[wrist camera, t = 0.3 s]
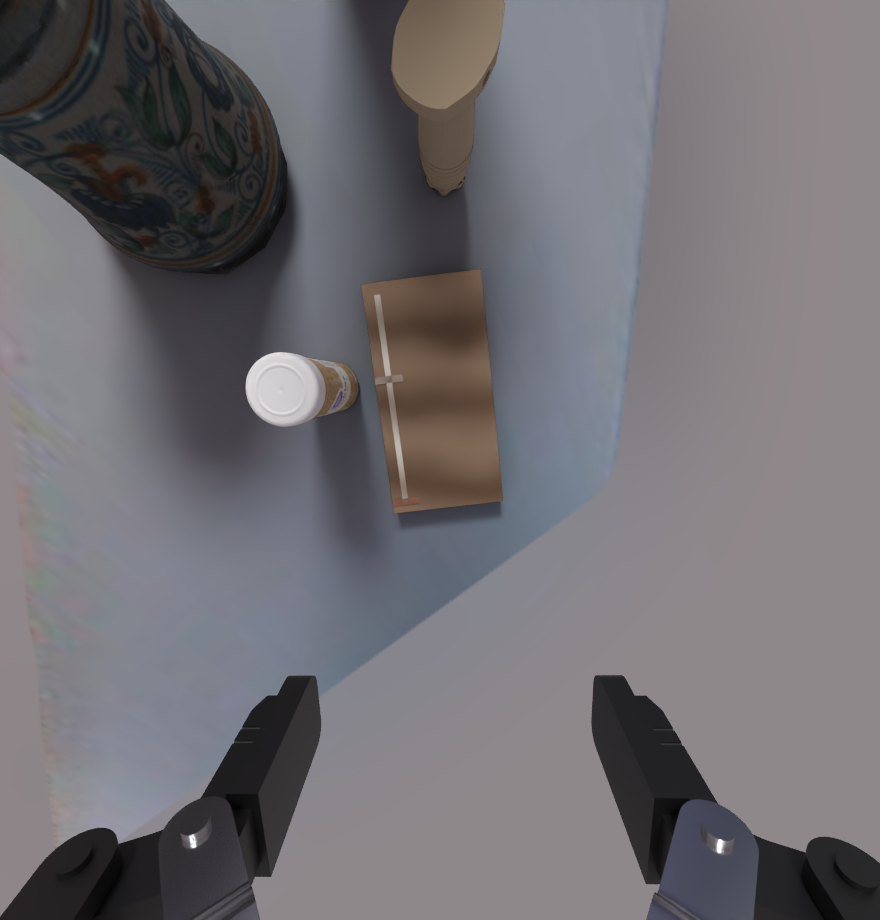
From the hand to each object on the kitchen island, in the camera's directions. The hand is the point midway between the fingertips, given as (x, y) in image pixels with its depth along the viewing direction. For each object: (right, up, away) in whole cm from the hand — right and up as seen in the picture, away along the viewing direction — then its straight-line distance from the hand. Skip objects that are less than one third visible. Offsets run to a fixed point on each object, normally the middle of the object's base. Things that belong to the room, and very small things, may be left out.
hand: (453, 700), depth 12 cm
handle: (0, +31, +24) cm, 39 cm away
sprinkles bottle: (-10, +14, +27) cm, 32 cm away
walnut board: (-1, +13, +27) cm, 30 cm away
